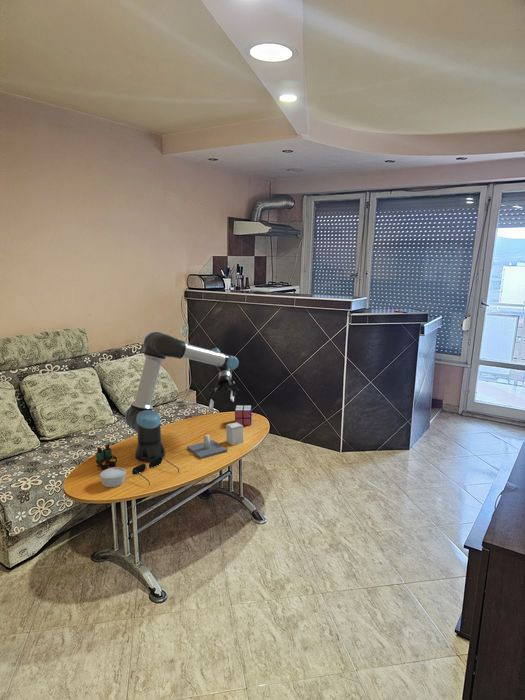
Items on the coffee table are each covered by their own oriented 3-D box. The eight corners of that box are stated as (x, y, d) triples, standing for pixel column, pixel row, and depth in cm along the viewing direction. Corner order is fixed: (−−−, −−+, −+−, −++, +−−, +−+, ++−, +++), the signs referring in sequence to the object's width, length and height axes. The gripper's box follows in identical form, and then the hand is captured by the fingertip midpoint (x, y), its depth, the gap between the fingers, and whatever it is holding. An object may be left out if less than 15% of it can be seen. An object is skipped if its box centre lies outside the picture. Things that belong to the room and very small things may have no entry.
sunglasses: (161, 464, 220) (161, 455, 219) (179, 477, 211) (180, 468, 210) (131, 476, 207) (131, 467, 206) (149, 490, 198) (149, 481, 197)
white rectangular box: (232, 445, 242) (232, 428, 240) (226, 441, 247) (226, 424, 246) (243, 442, 246) (243, 425, 244) (236, 438, 251) (236, 422, 249)
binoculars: (105, 454, 208) (92, 447, 213) (105, 474, 211) (93, 467, 216) (120, 448, 215) (108, 441, 220) (120, 467, 218) (108, 460, 223)
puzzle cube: (251, 425, 271) (250, 410, 269) (235, 425, 271) (234, 410, 270) (251, 420, 281) (251, 405, 279) (236, 420, 281) (235, 405, 279)
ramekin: (130, 478, 205) (130, 467, 204) (119, 490, 194) (118, 479, 193) (108, 476, 207) (107, 466, 206) (96, 488, 196) (95, 477, 195)
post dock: (200, 459, 225) (199, 444, 223) (187, 448, 238) (186, 434, 236) (227, 451, 234) (227, 437, 232) (213, 441, 247) (212, 428, 245)
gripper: (246, 376, 255) (244, 401, 238) (210, 391, 263) (205, 416, 245) (239, 367, 252) (237, 391, 234) (203, 383, 259) (198, 407, 242)
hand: (221, 404), depth 240 cm, fingers open, 13 cm apart
